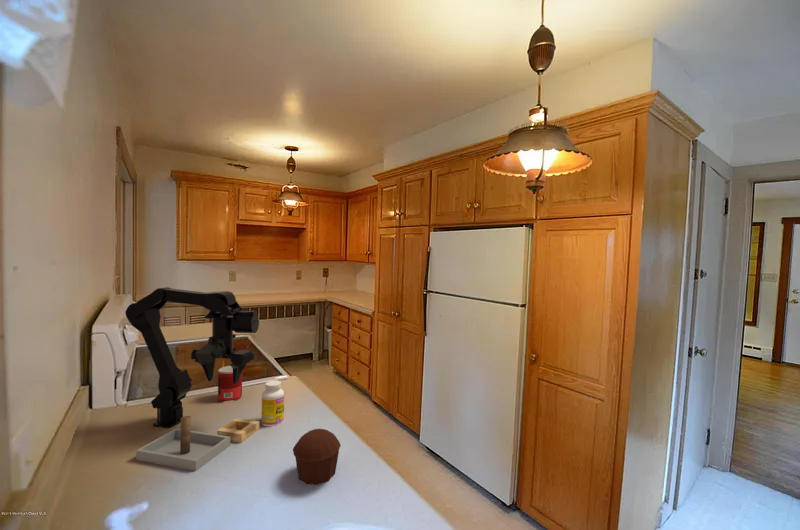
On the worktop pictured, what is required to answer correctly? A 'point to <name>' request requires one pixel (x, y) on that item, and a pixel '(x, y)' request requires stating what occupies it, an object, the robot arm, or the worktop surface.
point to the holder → (239, 429)
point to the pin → (185, 435)
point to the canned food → (228, 385)
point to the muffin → (316, 456)
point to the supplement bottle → (272, 404)
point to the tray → (169, 450)
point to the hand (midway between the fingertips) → (222, 382)
